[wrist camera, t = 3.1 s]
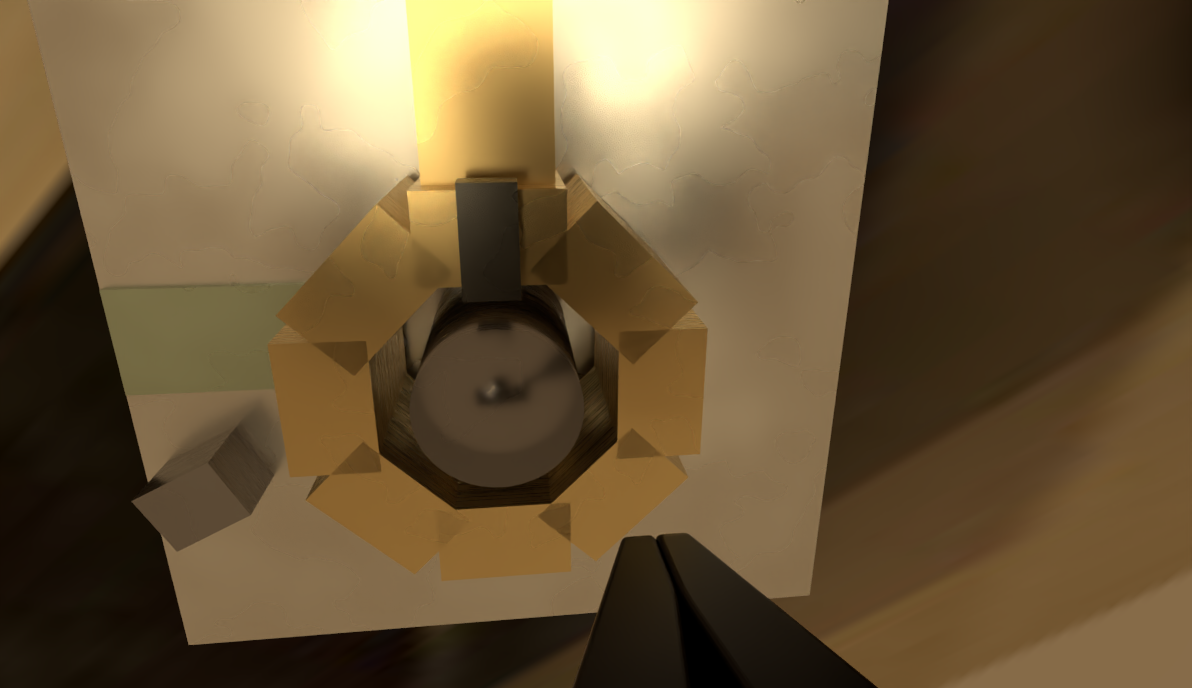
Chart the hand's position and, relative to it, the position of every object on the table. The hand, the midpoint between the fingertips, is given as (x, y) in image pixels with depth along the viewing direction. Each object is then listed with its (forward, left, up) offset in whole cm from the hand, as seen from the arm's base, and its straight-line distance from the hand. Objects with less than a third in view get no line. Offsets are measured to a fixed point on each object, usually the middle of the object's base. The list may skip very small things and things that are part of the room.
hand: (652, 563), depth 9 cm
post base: (+2, 0, -11) cm, 11 cm away
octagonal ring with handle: (+2, -4, -9) cm, 10 cm away
